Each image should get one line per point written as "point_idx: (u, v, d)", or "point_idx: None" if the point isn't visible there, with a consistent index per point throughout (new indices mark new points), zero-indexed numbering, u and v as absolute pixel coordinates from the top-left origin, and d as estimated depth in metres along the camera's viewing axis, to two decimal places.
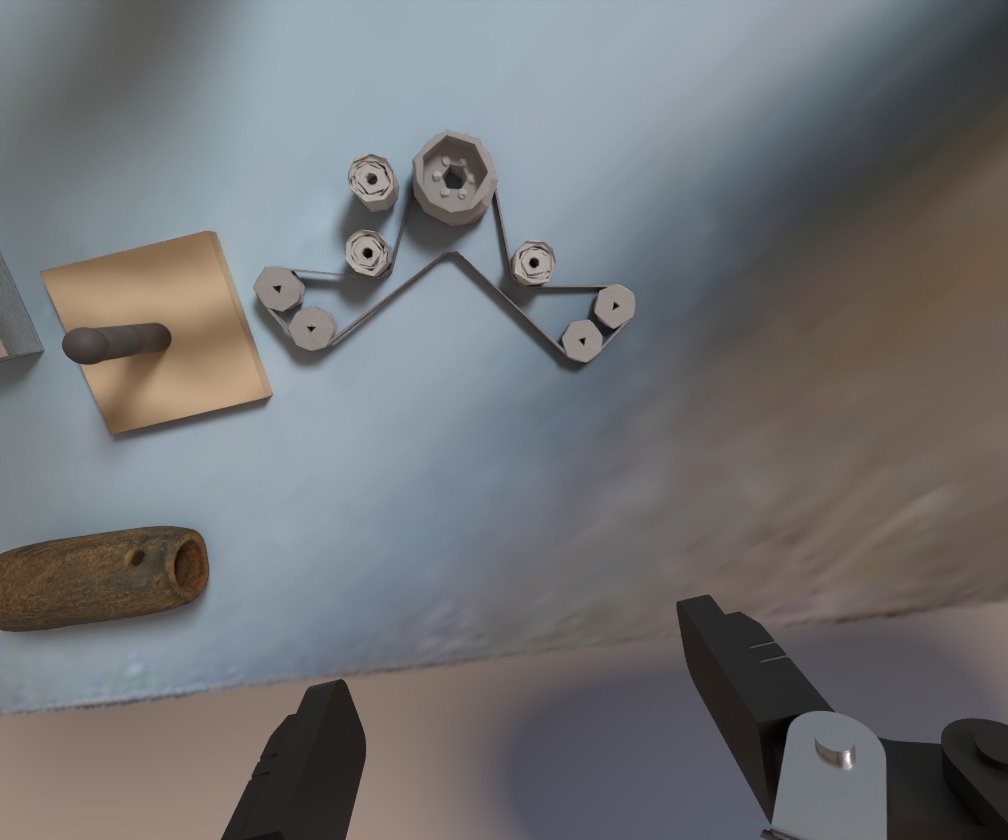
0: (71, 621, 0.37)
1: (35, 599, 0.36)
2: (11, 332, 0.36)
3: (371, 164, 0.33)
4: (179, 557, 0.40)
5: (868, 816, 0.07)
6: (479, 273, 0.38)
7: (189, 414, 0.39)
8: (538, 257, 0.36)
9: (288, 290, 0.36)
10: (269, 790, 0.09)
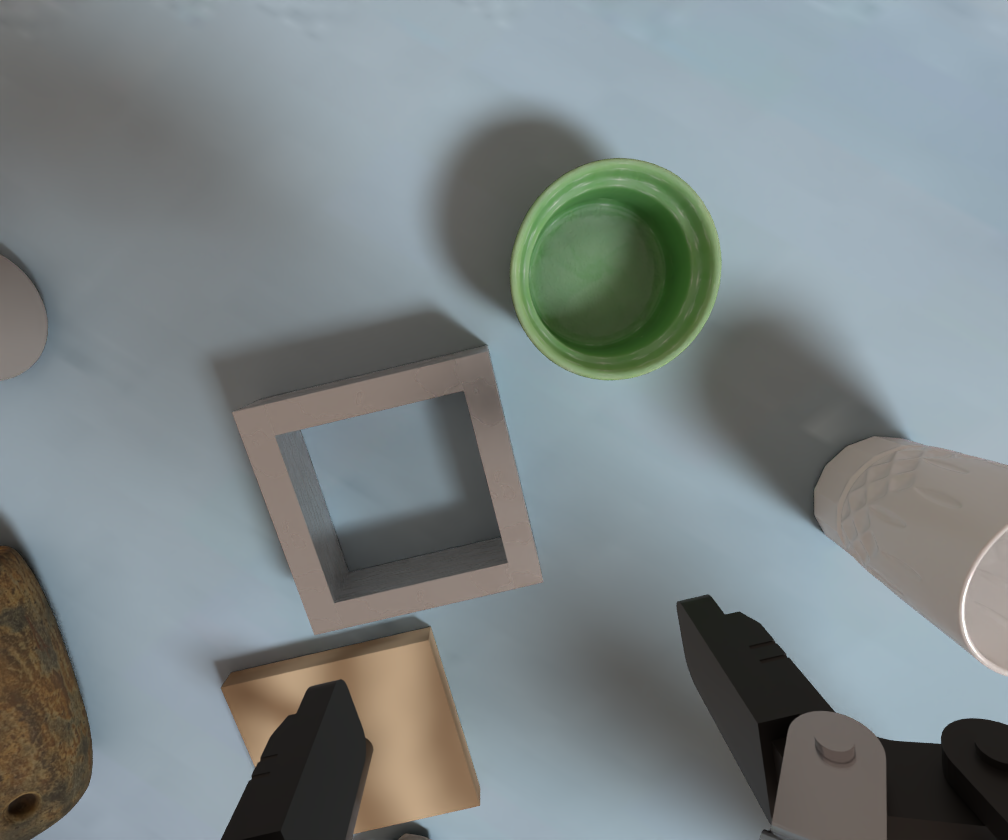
0: None
1: None
2: None
3: None
4: None
5: (868, 816, 0.07)
6: None
7: None
8: None
9: None
10: (269, 790, 0.09)
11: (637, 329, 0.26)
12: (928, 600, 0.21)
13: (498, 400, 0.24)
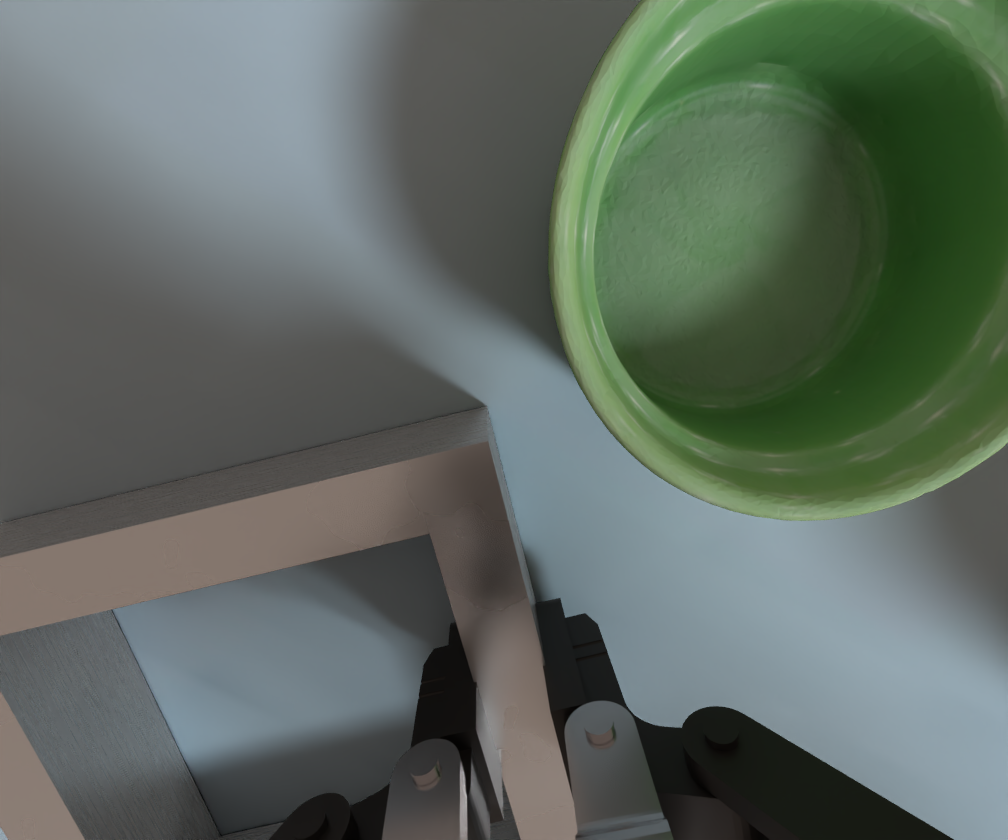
0: None
1: None
2: None
3: None
4: None
5: (599, 788, 0.08)
6: None
7: None
8: None
9: None
10: (450, 700, 0.10)
11: (813, 372, 0.12)
12: None
13: (514, 554, 0.10)
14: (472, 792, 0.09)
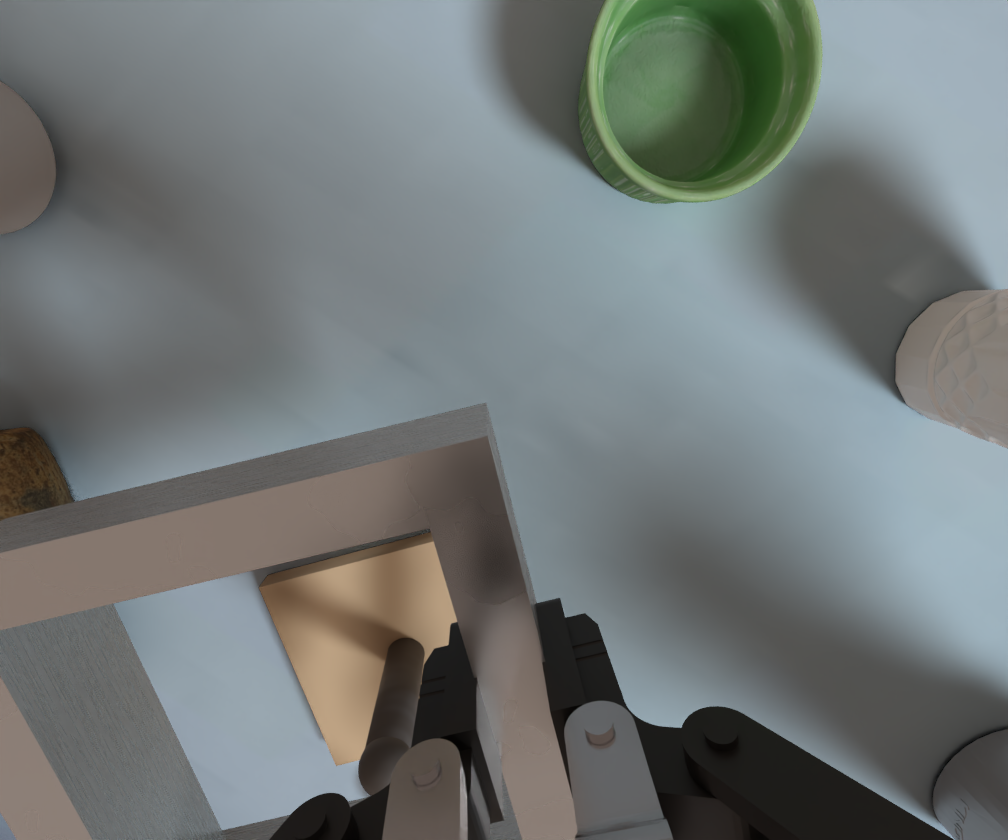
0: None
1: None
2: None
3: None
4: None
5: (598, 788, 0.08)
6: None
7: (302, 682, 0.28)
8: None
9: None
10: (450, 700, 0.10)
11: (712, 167, 0.24)
12: None
13: (513, 548, 0.10)
14: (472, 792, 0.09)
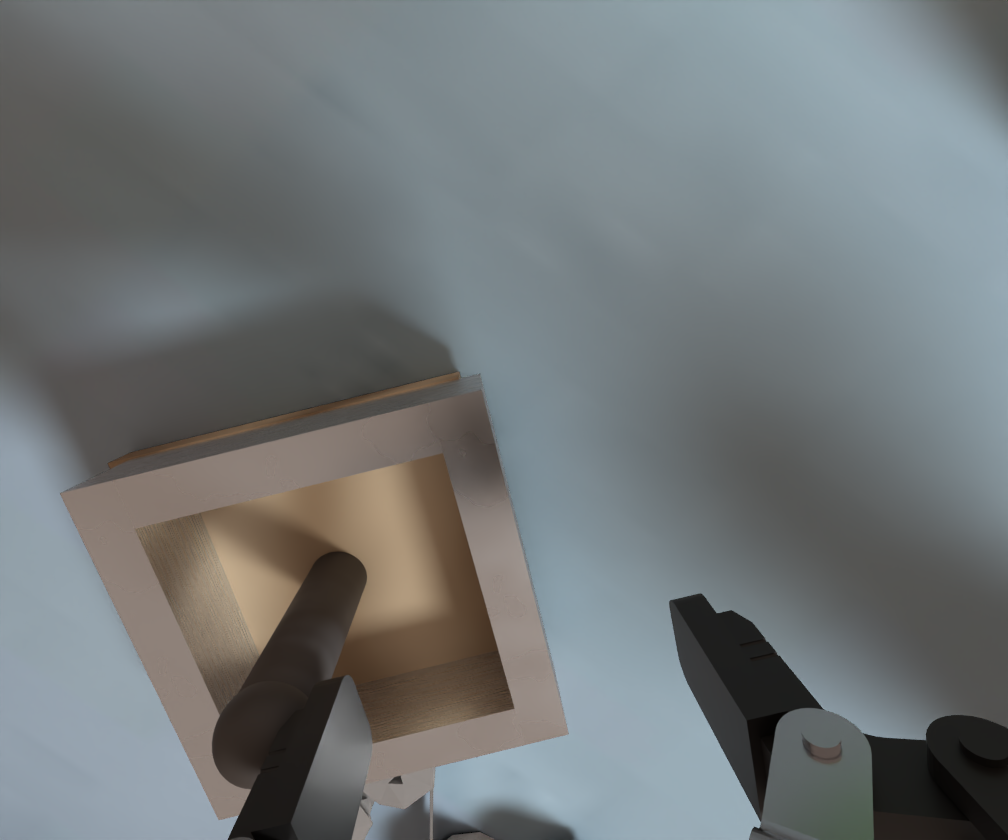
0: None
1: None
2: None
3: None
4: None
5: (853, 811, 0.07)
6: None
7: None
8: None
9: (395, 793, 0.21)
10: (278, 783, 0.09)
11: None
12: None
13: (499, 467, 0.15)
14: None
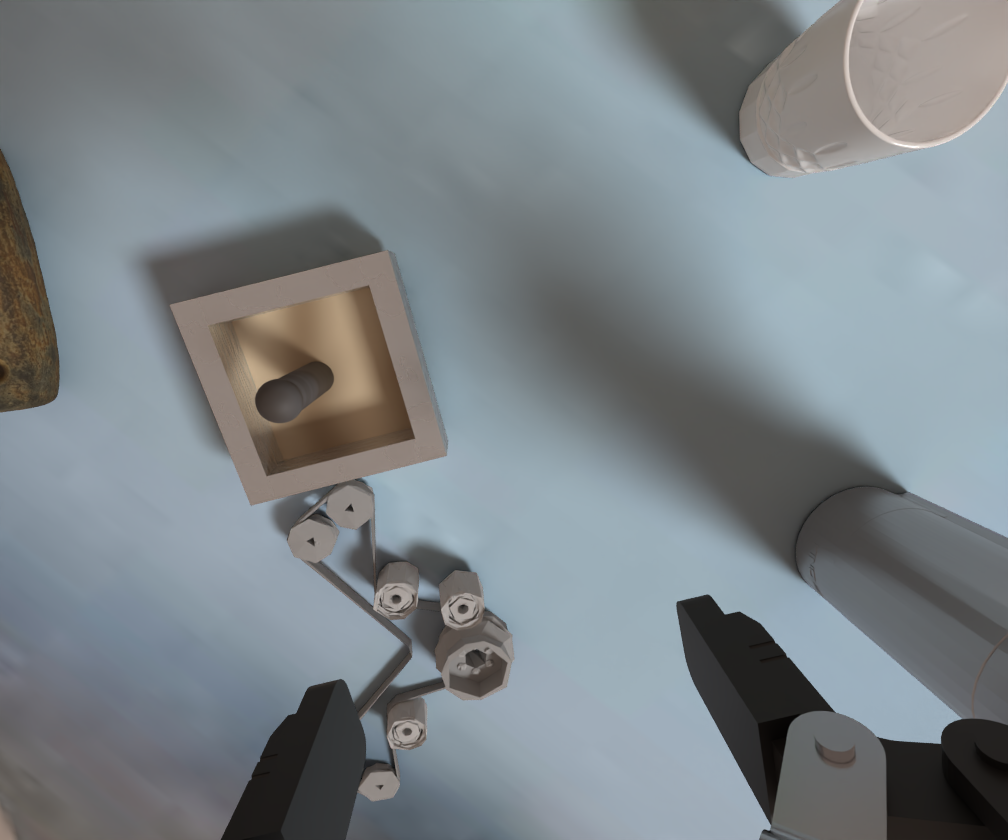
0: None
1: None
2: None
3: (476, 606, 0.35)
4: None
5: (868, 816, 0.07)
6: (395, 671, 0.39)
7: None
8: (412, 734, 0.38)
9: (349, 518, 0.34)
10: (269, 790, 0.09)
11: None
12: (823, 92, 0.23)
13: (399, 293, 0.28)
14: None
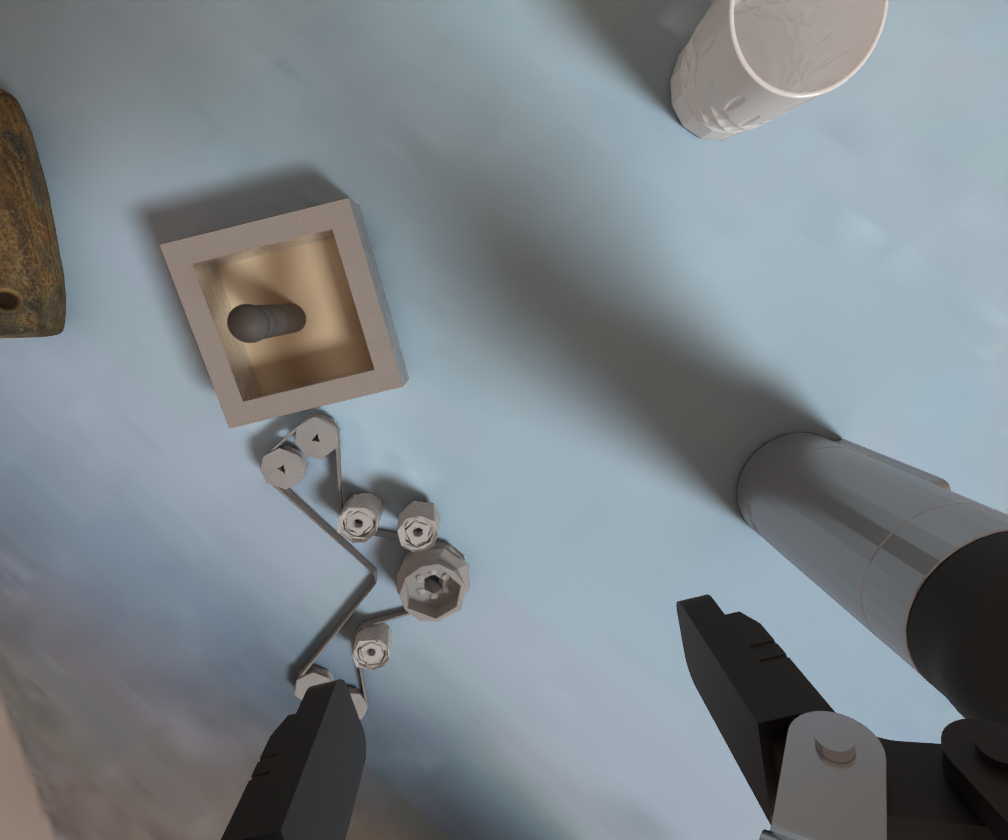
0: None
1: None
2: None
3: (430, 530, 0.38)
4: None
5: (868, 816, 0.07)
6: (361, 598, 0.42)
7: None
8: (376, 655, 0.42)
9: (315, 448, 0.38)
10: (269, 790, 0.09)
11: None
12: (719, 50, 0.27)
13: (358, 237, 0.32)
14: None
